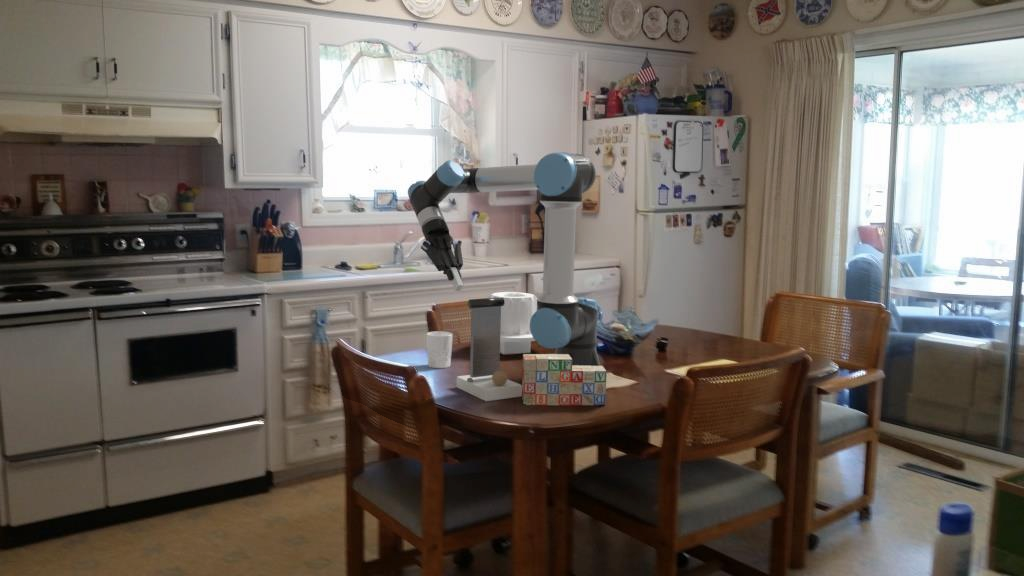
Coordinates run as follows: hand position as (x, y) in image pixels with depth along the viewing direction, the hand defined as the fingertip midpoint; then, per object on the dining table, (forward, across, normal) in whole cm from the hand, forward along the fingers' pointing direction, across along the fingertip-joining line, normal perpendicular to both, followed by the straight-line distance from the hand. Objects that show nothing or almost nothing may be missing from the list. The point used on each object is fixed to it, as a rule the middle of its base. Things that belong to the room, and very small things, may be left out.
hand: (459, 288), depth 234 cm
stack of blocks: (+44, -12, +6) cm, 46 cm away
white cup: (+8, -2, -29) cm, 30 cm away
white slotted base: (+31, 0, -6) cm, 31 cm away
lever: (+26, 0, -5) cm, 27 cm away
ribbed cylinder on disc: (+1, -34, -36) cm, 49 cm away
